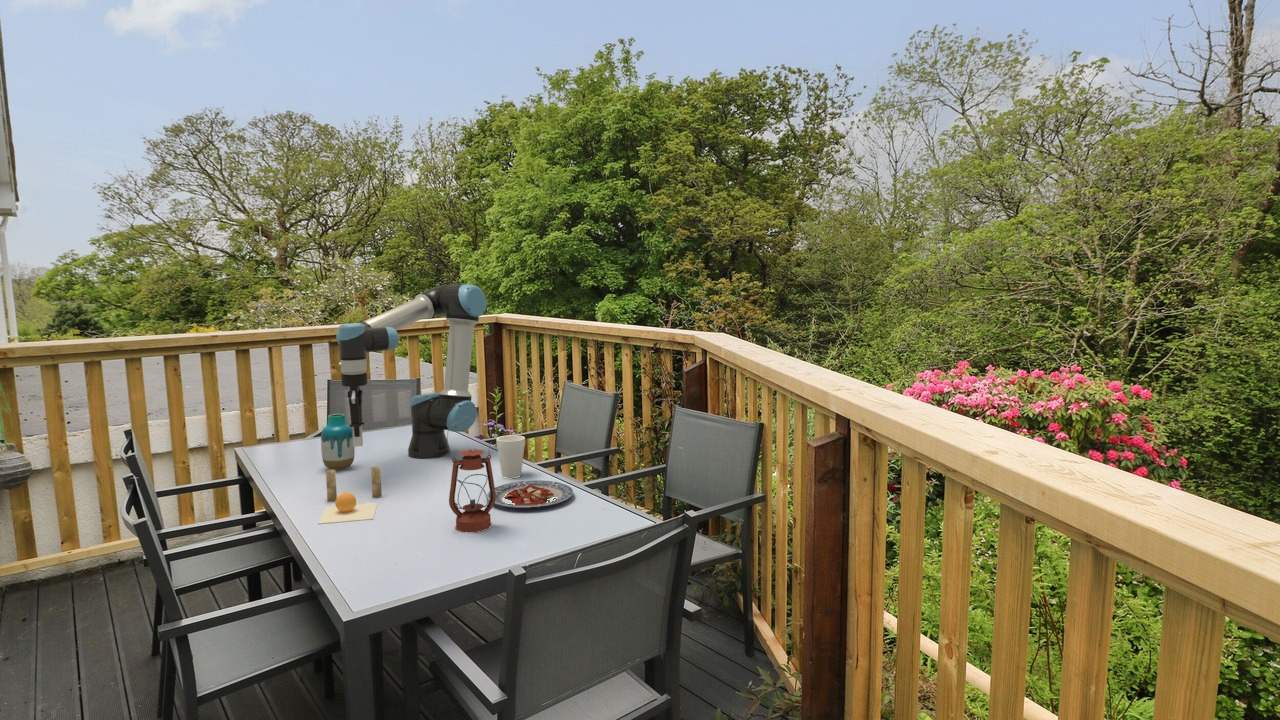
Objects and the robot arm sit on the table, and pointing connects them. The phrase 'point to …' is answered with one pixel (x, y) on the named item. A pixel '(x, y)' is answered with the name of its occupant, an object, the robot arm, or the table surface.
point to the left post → (331, 485)
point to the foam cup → (511, 454)
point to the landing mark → (348, 514)
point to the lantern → (473, 515)
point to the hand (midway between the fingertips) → (358, 445)
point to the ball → (345, 502)
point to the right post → (376, 482)
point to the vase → (337, 443)
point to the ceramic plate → (531, 493)
